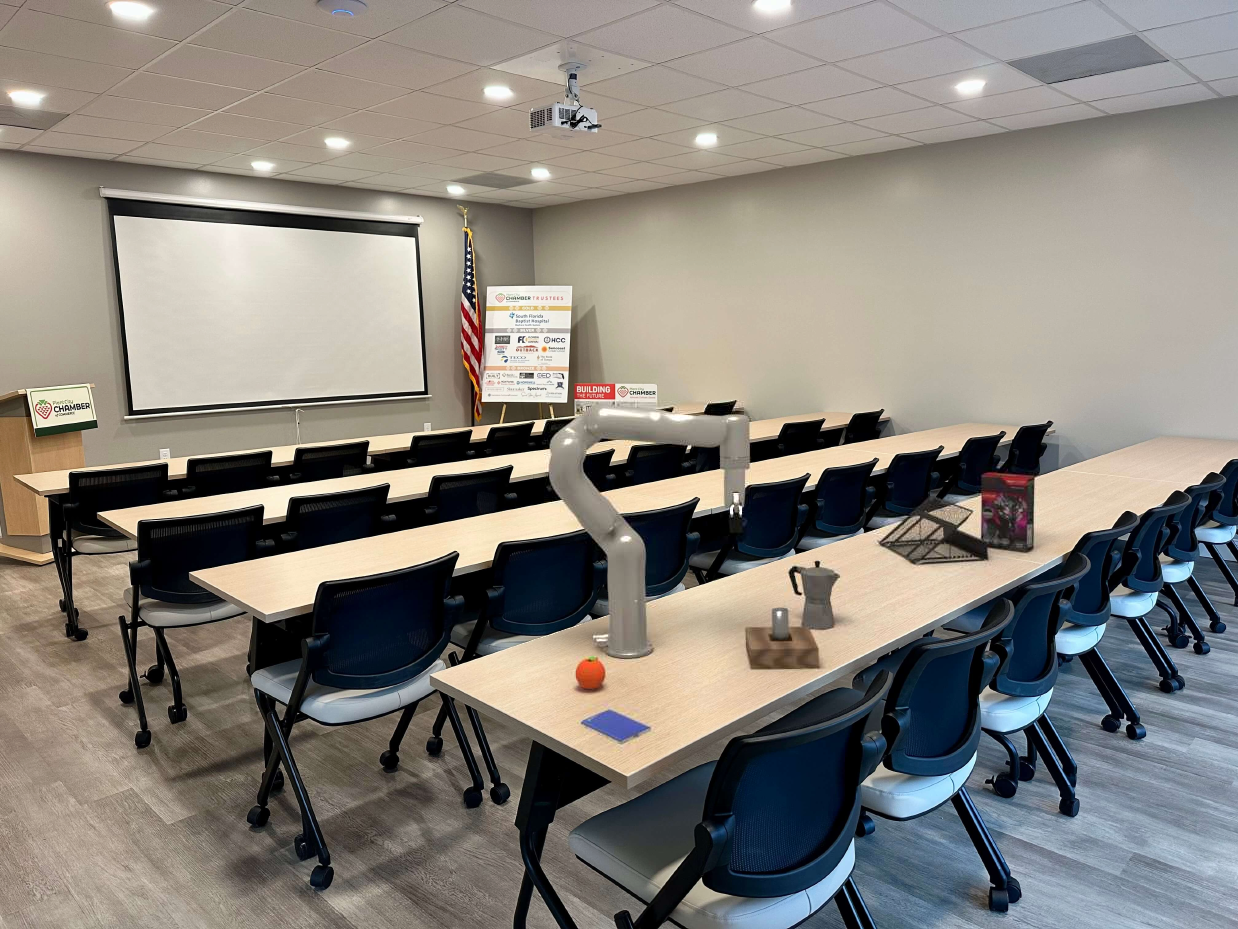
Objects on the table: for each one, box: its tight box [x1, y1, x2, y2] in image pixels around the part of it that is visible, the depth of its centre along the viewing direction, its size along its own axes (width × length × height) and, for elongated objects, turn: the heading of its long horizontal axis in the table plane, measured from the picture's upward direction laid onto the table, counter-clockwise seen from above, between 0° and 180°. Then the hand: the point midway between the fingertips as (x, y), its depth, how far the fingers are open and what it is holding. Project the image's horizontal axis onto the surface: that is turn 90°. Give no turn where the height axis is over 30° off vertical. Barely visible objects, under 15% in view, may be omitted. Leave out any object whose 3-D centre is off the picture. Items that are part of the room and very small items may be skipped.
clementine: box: [574, 656, 606, 690], centre depth 192 cm, size 8×7×7 cm
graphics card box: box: [980, 472, 1036, 553], centre depth 304 cm, size 17×7×27 cm, turn 43°
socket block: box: [744, 626, 820, 670], centre depth 206 cm, size 16×16×5 cm
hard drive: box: [580, 709, 652, 745], centre depth 170 cm, size 2×8×12 cm
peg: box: [771, 607, 790, 641], centre depth 205 cm, size 4×4×12 cm
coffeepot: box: [788, 560, 841, 631], centre depth 229 cm, size 15×9×18 cm, turn 49°
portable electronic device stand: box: [876, 495, 989, 566], centre depth 303 cm, size 33×28×18 cm
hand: (735, 528), depth 216 cm, fingers open, 9 cm apart
